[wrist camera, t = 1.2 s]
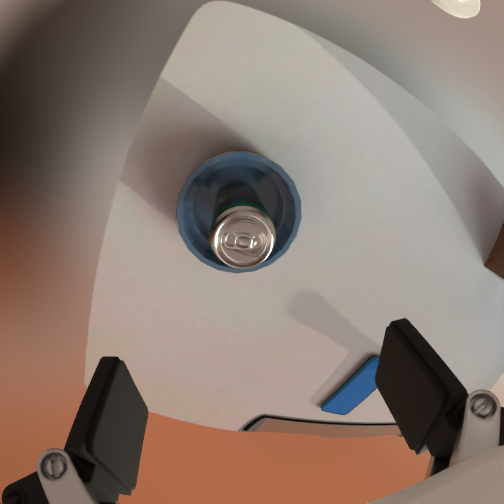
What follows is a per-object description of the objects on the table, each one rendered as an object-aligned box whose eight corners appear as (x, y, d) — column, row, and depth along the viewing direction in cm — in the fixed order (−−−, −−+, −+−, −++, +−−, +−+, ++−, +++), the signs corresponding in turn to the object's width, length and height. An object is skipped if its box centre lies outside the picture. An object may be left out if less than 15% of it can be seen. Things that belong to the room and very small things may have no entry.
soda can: (255, 230, 33) (270, 278, 22) (211, 223, 32) (204, 268, 21) (264, 187, 31) (285, 214, 20) (219, 179, 31) (214, 202, 20)
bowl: (177, 158, 30) (168, 161, 25) (287, 146, 30) (297, 147, 26) (192, 259, 34) (188, 278, 30) (293, 248, 35) (303, 265, 30)
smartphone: (319, 410, 47) (374, 357, 42) (317, 406, 48) (372, 354, 43) (345, 415, 49) (398, 367, 44) (344, 412, 50) (396, 363, 45)
